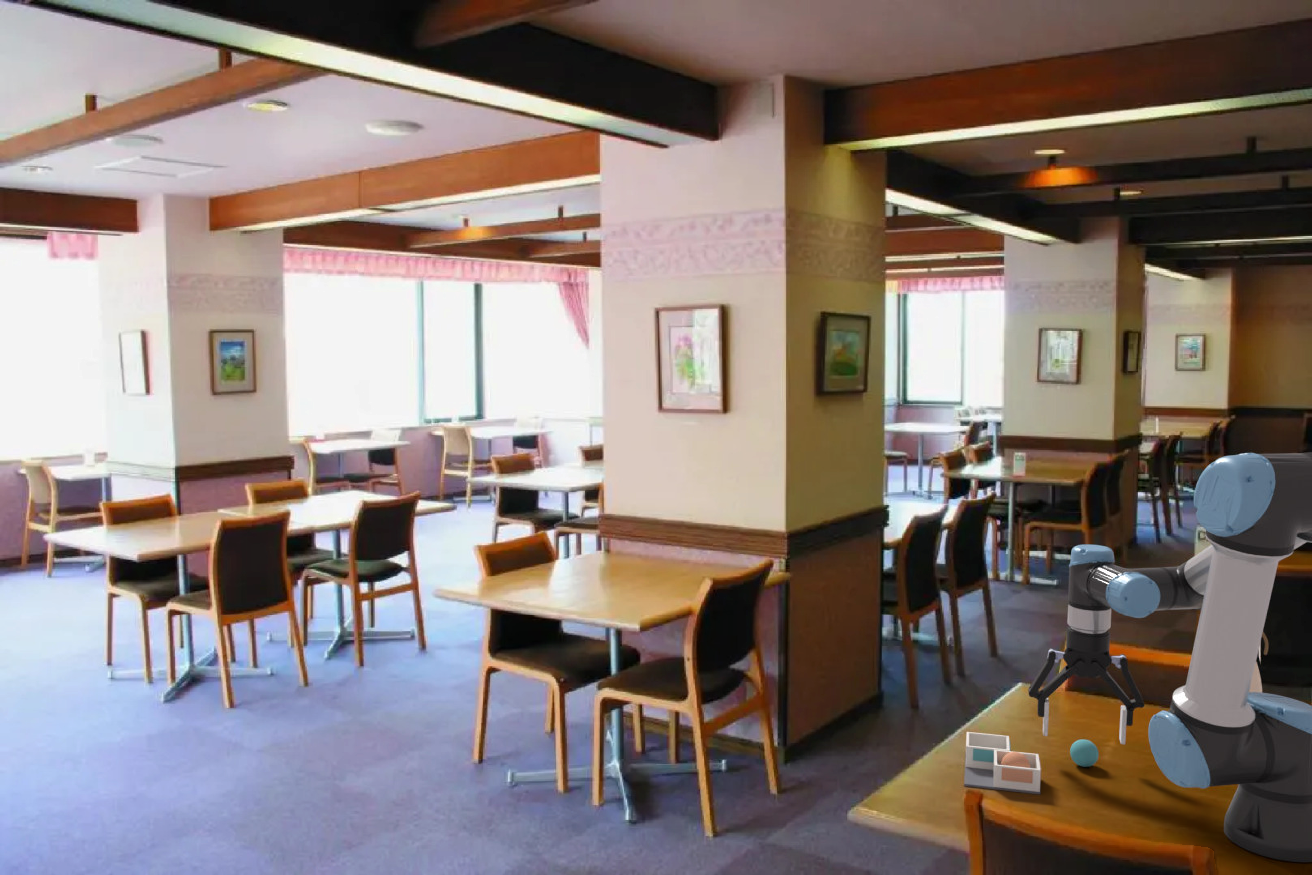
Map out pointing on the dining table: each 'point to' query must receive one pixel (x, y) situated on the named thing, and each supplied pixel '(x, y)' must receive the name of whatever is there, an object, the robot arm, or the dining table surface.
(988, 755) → the white square bin
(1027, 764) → the ball terracotta
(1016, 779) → the white square box
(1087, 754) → the ball teal
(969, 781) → the mat
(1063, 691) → the dining table surface
